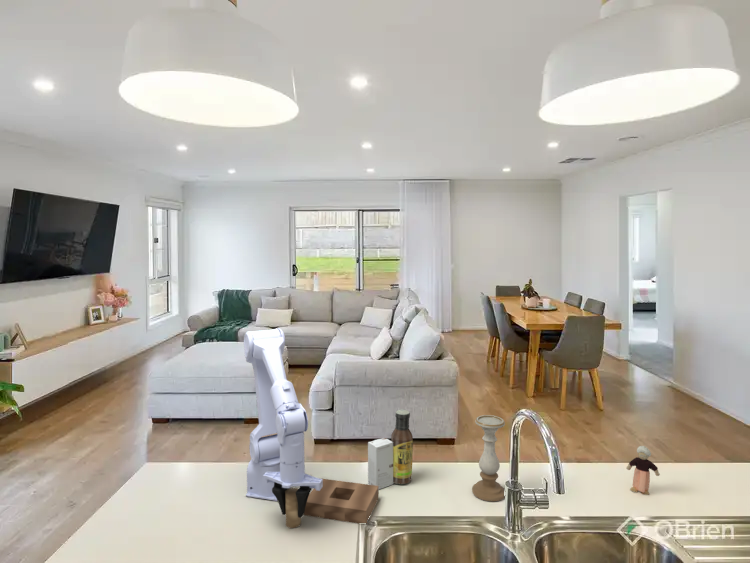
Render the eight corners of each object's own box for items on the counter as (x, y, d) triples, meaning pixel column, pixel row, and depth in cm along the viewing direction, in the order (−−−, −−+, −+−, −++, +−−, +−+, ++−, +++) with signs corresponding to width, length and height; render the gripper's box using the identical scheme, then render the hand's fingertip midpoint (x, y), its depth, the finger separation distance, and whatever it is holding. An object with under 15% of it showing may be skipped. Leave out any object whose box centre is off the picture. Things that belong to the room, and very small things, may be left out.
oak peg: (283, 526, 113) (282, 494, 113) (289, 518, 117) (289, 486, 116) (297, 529, 112) (296, 496, 112) (303, 520, 116) (302, 488, 115)
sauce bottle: (398, 488, 131) (399, 417, 129) (385, 479, 136) (385, 411, 134) (417, 481, 134) (417, 412, 133) (403, 472, 140) (403, 406, 138)
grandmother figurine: (626, 492, 128) (628, 446, 127) (625, 485, 132) (627, 441, 131) (659, 498, 125) (662, 451, 124) (657, 491, 129) (659, 445, 128)
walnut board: (303, 515, 118) (303, 501, 118) (321, 490, 130) (321, 478, 129) (366, 524, 114) (366, 510, 114) (378, 498, 126) (378, 485, 125)
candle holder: (512, 498, 126) (514, 423, 124) (483, 504, 123) (484, 428, 121) (493, 482, 134) (494, 412, 132) (465, 488, 131) (466, 416, 129)
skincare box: (376, 490, 130) (376, 447, 128) (367, 484, 133) (366, 442, 132) (394, 484, 133) (394, 442, 132) (384, 477, 137) (384, 436, 136)
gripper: (256, 463, 111) (257, 518, 112) (314, 470, 107) (315, 528, 109) (270, 450, 118) (271, 503, 119) (325, 457, 114) (326, 511, 115)
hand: (293, 514), depth 114 cm, fingers closed on oak peg, 4 cm apart
